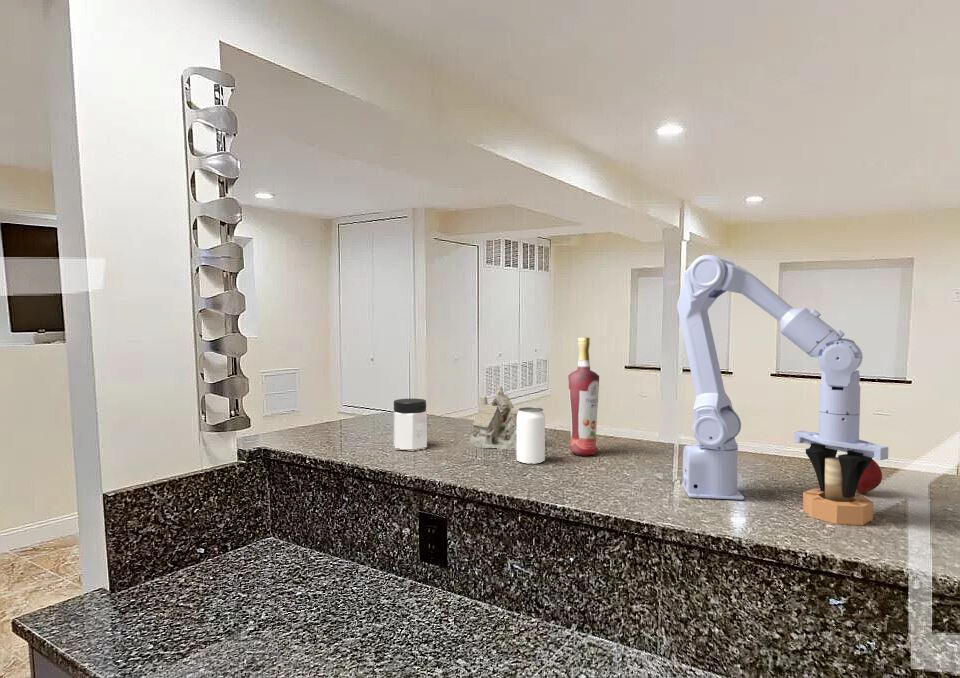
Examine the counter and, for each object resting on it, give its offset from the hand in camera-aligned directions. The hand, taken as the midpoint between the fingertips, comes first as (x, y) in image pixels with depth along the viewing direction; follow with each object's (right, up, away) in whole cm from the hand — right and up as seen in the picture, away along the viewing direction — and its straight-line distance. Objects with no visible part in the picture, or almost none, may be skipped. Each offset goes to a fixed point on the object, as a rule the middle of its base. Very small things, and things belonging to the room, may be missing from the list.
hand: (837, 493), depth 98 cm
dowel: (0, -2, 0) cm, 2 cm away
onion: (+12, -3, +12) cm, 17 cm away
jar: (-77, -2, +50) cm, 92 cm away
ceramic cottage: (-53, -2, +54) cm, 76 cm away
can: (-48, -2, +37) cm, 60 cm away
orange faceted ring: (0, -4, 0) cm, 4 cm away
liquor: (-35, -2, +44) cm, 56 cm away
